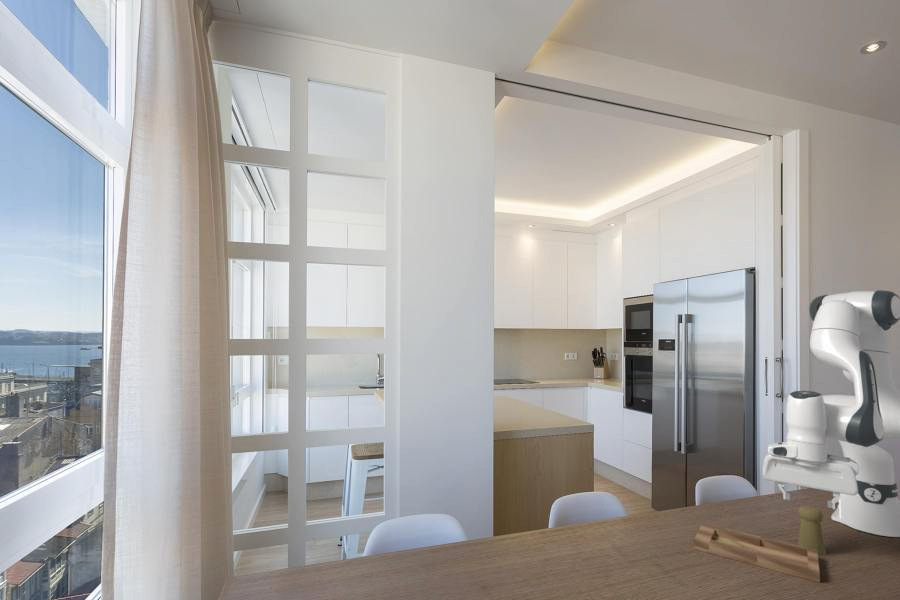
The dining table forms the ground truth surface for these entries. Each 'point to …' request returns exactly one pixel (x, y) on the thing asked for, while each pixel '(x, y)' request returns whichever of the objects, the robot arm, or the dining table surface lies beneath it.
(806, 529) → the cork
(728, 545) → the keyhole board
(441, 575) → the dining table surface
